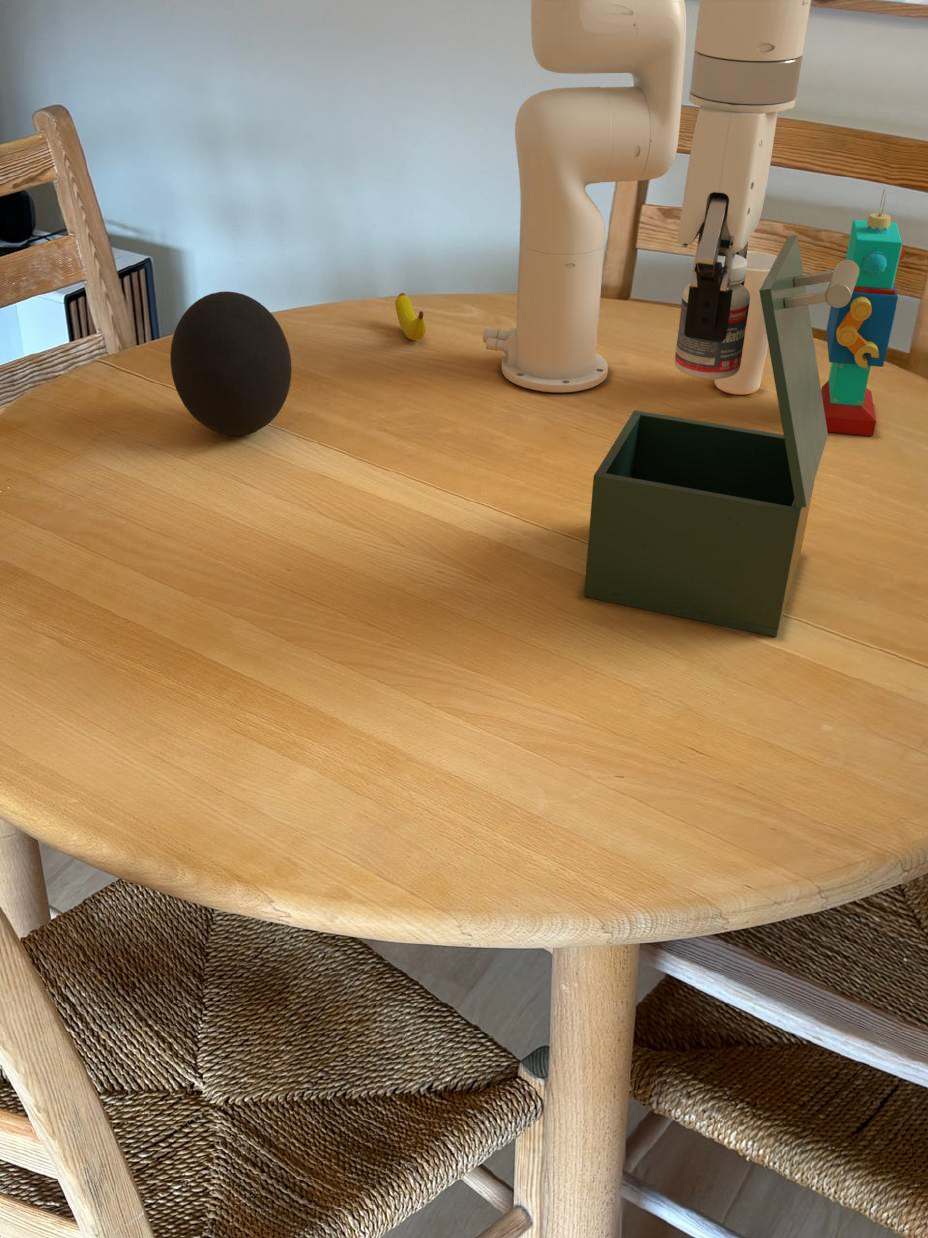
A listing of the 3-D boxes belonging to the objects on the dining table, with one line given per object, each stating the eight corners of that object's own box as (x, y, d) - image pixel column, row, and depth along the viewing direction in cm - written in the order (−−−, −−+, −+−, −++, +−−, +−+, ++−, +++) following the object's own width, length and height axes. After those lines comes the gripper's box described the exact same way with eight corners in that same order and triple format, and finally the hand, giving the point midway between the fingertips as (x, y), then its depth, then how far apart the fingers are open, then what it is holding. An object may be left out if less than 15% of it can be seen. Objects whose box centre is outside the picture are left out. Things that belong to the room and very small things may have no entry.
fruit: (430, 350, 153) (430, 311, 150) (413, 352, 153) (413, 313, 150) (409, 321, 161) (409, 283, 158) (393, 323, 161) (392, 285, 158)
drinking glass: (701, 393, 144) (717, 265, 135) (714, 371, 149) (731, 247, 140) (759, 403, 142) (780, 273, 133) (770, 381, 147) (791, 255, 138)
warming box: (583, 596, 108) (593, 475, 101) (623, 524, 118) (634, 409, 112) (776, 637, 103) (800, 512, 96) (799, 557, 114) (822, 440, 107)
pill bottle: (724, 386, 98) (740, 275, 93) (663, 371, 100) (675, 262, 95) (749, 363, 102) (765, 256, 97) (690, 350, 104) (702, 244, 99)
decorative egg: (228, 467, 127) (214, 326, 118) (156, 430, 134) (137, 294, 125) (319, 429, 134) (311, 294, 126) (246, 396, 141) (234, 266, 133)
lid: (759, 290, 89) (840, 276, 86) (787, 236, 99) (860, 222, 97) (796, 508, 96) (871, 501, 94) (818, 436, 107) (886, 428, 104)
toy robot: (874, 443, 133) (925, 207, 119) (816, 437, 134) (860, 202, 120) (867, 399, 143) (914, 176, 129) (813, 394, 144) (854, 172, 130)
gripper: (715, 55, 96) (688, 285, 107) (665, 99, 83) (640, 356, 93) (813, 63, 94) (776, 296, 104) (779, 109, 81) (740, 371, 91)
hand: (712, 322), depth 99 cm, fingers closed on pill bottle, 5 cm apart
